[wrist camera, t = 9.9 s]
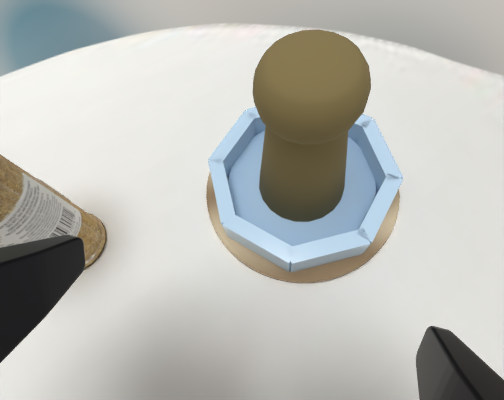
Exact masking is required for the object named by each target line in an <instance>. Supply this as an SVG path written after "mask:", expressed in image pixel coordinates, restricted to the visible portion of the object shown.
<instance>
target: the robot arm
mask: <svg viewBox="0 0 504 400" xmlns="http://www.w3.org/2000/svg"><path fill="white" fill-rule="evenodd" d="M84 268H85V251H84V242H83V240H82V239H81V238H80V237H76V236H72V235H61V236H56V237H51V238H46V239H41V240H36V241H31V242H26V243H21V244H16V245H11V246H6V247H1V248H0V363H1V362H2V361H3V360H4V359H5V358H6V357H7V356H8V355H9V354H10V353H11V352H12V351H13V350H14V349H15V347H16V346H17V345H18V344H19V343H20V342H21V341H22V340H23V339H24V338H25V337H26V336H27V335H28V334H29V333H30V332H31V331H32V330H33V329H34V328H35V327H36V326H37V325H38V324H39V323H40V322H41V321H42V320H43V319H44V318H45V317H46V315H47V314H48V313H49V312H50V311H51V310H52V308H53V307H54V306H55V305H56V304H57V302H58V301H59V300H60V299H61V297H62V296H63V295H64V294H65V293H66V291H67V290H68V289H69V288H70V287H71V285H72V284H73V283H74V282H75V280H76V279H77V278H78V277H79V276H80V274H81V273H82V272H83V270H84ZM416 368H417V378H418V388H419V398H420V400H504V380H503V379H502V378H501V377H500V376H499V375H498V374H497V373H496V372H495V371H493V370H492V369H491V368H490V367H489V366H488V365H487V364H486V363H485V362H484V361H483V360H482V359H480V358H479V357H478V356H477V355H476V354H475V353H474V352H473V351H472V350H471V349H470V348H469V347H467V346H466V345H465V344H464V343H463V342H462V341H461V340H460V339H459V338H458V337H457V336H456V335H454V334H453V333H452V332H451V331H449V330H447V329H443V328H439V327H435V326H430V327H428V328H427V330H426V332H425V334H424V337H423V339H422V342H421V344H420V347H419V349H418V352H417V355H416Z"/></svg>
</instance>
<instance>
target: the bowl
mask: <svg viewBox="0 0 504 400" xmlns="http://www.w3.org/2000/svg"><path fill="white" fill-rule="evenodd" d="M265 126H266V125H265V124H264V123H263V122H262V120H261V118H260V116H259V114H258V111H257V108H256V107H254V108H250V109H247V111H246V110H245V111H244V112H243V114H242V115H241V116H240V118H239V119H238V120H237V122H236V123H235V124H234V126H233V127H232V128H231V130H230V131H229V132H228V134H227V135H226V136H225V138H224V139H223V140H222V142H221V143H220V144H219V146H218V147H217V148H216V150H215V151H214V152H213V154H212V155H211V156H210V158H209V161H208V162H209V167H210V172H211V177H212V182H213V187H214V192H215V197H216V202H217V206H218V211H219V216H220V221H221V224H222V226H223V228H224V230H225V232H226V234H227V236H228V237H229V238H231V239H232V240H234V241H236V242H237V243H239V244H241V245H243V246H244V247H246V248H248V249H249V250H251V251H253V252H255V253H256V254H258V255H260V256H261V257H263V258H265V259H267V260H268V261H270V262H272V263H273V264H275V265H277V266H279V267H280V268H282V269H284V270H285V271H287V272H289V271H291V273H292V272H296V271H300V270H303V269H307V268H311V267H315V266H319V265H323V264H327V263H331V262H335V261H339V260H343V259H347V258H350V257H354V256H358V255H362V253H364V252H365V250H366V249H367V248H368V247H369V246H370V244H371V243H372V242H373V240H374V238H375V236H376V234H377V232H378V230H379V228H380V226H381V224H382V222H383V220H384V218H385V215H386V213H387V211H388V209H389V207H390V205H391V203H392V201H393V199H394V197H395V195H396V193H397V191H398V189H399V187H400V185H401V183H402V181H403V179H402V178H403V176H402V174H401V172H400V170H399V168H398V166H397V164H396V162H395V160H394V158H393V156H392V154H391V152H390V150H389V148H388V146H387V144H386V142H385V140H384V138H383V136H382V134H381V132H380V130H379V128H378V126H377V124H376V122H375V120H374V119H373V120H372V117H369V116H367V115H364V114H362V115H361V116H360V117H359V118H358V120H357V121H356V122H355V123H354V125H353V126H352V127H351V128H350V130H349V131H348V145H347V159H346V173H345V187H344V191H343V195H342V198H341V201H340V202H339V203H338V205H337V206H336V207H335V209H334V210H333V211H332V212H330V213H329V214H327V215H326V216H324V217H323V218H320V219H317V220H313V221H310V222H294V221H291V220H288V219H285V218H281V217H280V216H278V215H277V214H276V213H274V212H273V211H271V210H270V209H269V207H268V206H267V205H266V203H265V202H264V201H263V199H262V196H261V193H260V190H259V179H260V169H261V160H262V152H263V143H264V135H265ZM375 193H376V195H375Z"/></svg>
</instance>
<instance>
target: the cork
mask: <svg viewBox="0 0 504 400" xmlns="http://www.w3.org/2000/svg"><path fill="white" fill-rule="evenodd" d="M370 90H371V79H370V72H369V65H368V64H367V62H366V60H365V58H364V56H363V54H362V53H361V51H360V50H359V48H358V47H357V46H356V45H355V44H354V43H353V42H351V41H350V40H349V39H348V38H346V37H343V36H341V35H339V34H336V33H334V32H329V31H323V30H304V31H299V32H296V33H292V34H288V35H287V36H285V37H283V38H281V39H279V40H278V41H276V42H275V43H274V44H273V45H272V46H271V47H270V48H269V49H268V50H267V51H266V52H265V53H264V55H263V56H262V58H261V60H260V62H259V64H258V66H257V68H256V70H255V75H254V81H253V97H254V103H255V106H256V108H257V111H258V114H259V116H260V118H261V120H262V122H263V123H264V124H265V125H266V126H265V135H264V143H263V152H262V160H261V169H260V179H259V190H260V193H261V196H262V199H263V201H264V202H265V203H266V205H267V206H268V207H269V209H270V210H271V211H273V212H274V213H276V214H277V215H278V216H280V217H281V218H285V219H288V220H291V221H294V222H310V221H313V220H317V219H320V218H323V217H324V216H326V215H327V214H329V213H330V212H332V211H333V210H334V209H335V207H336V206H337V205H338V203H339V202H340V201H341V198H342V195H343V191H344V187H345V173H346V159H347V145H348V131H349V130H350V128H351V127H352V126H353V125H354V123H355V122H356V121H357V120H358V118H359V117H360V116H361V115H362V113H363V112H364V109H365V106H366V103H367V100H368V96H369V93H370Z"/></svg>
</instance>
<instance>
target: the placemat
mask: <svg viewBox="0 0 504 400" xmlns="http://www.w3.org/2000/svg"><path fill="white" fill-rule="evenodd" d="M375 195H376V193H375ZM206 198H207V207H208V212H209V215H210V219H211V222H212V224H213V226H214V229H215V231H216V233H217V234H218V236H219V238H220V239H221V241H222V242H223V244H224V245H225V246H226V247H227V249H228V250H229V251H230V252H231V253H232V254H233V255H234V256H235V257H236V258H237V259H238V260H239V261H241V262H242V263H244V264H245V265H247V266H248V267H249V268H251V269H253V270H255V271H257V272H259V273H261V274H263V275H266V276H268V277H271V278H274V279H278V280H283V281H287V282H297V283H312V282H321V281H326V280H331V279H334V278H337V277H340V276H343V275H345V274H347V273H349V272H352V271H354V270H356V269H357V268H359V267H360V266H361V265H363V264H364V263H366V262H367V261H368V260H369V259H370V258H372V257H373V256H374V255H375V254H376V253H377V252H378V251H379V249H380V248H381V247H382V246H383V244H384V243H385V242H386V240H387V239H388V237H389V235H390V233H391V232H392V230H393V227H394V224H395V222H396V219H397V214H398V210H399V198H400V195H399V189H398V191H397V193H396V195H395V197H394V199H393V201H392V203H391V205H390V207H389V209H388V211H387V213H386V215H385V218H384V220H383V222H382V224H381V226H380V228H379V230H378V232H377V234H376V236H375V238H374V240H373V242H372V243H371V244H370V246H369V247H368V248H367V249H366V250H365V252H364V253H362V255H358V256H354V257H350V258H347V259H343V260H339V261H335V262H331V263H327V264H323V265H319V266H315V267H311V268H307V269H303V270H300V271H296V272H292V273H291V271H289V272H287V271H285V270H284V269H282V268H280V267H279V266H277V265H275V264H273V263H272V262H270V261H268V260H267V259H265V258H263V257H261V256H260V255H258V254H256V253H255V252H253V251H251V250H249V249H248V248H246V247H244V246H243V245H241V244H239V243H237V242H236V241H234V240H232V239H231V238H229V237H228V236H227V234H226V232H225V230H224V228H223V226H222V224H221V221H220V216H219V211H218V206H217V202H216V197H215V192H214V187H213V182H212V177H211V172H210V174H209V177H208V183H207V197H206Z"/></svg>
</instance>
